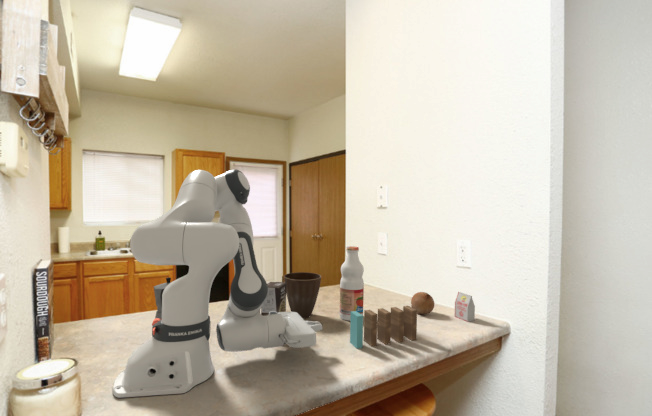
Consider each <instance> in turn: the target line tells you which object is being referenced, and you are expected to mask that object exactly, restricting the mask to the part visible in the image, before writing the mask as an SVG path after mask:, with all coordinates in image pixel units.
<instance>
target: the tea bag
mask: <svg viewBox="0 0 652 416" xmlns="http://www.w3.org/2000/svg"><path fill="white" fill-rule="evenodd" d="M475 308H476V305H475V303H474V299H473V295H470V294H468V293H463V292H461V291H458V292H457V295H456V298H455V301H454V317H455V318H456V319H460V320H462V321H465V322H467V323H469V322H475V319H476V318H475V317H476V316H475V315H476V313H475V311H476V309H475Z"/></svg>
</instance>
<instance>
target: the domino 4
mask: <svg viewBox="0 0 652 416" xmlns="http://www.w3.org/2000/svg"><path fill="white" fill-rule="evenodd" d="M402 310H403V311H404V337H405V338H406V339H408V340H409V341H411V342H413V341H417V340H418V339H417V337H418V336H417V334H418V332H417V330H418V329H417V328H418V327H417V326H418V323H417V322H418V321H417V319H418V313H417V310H416V309H414V308H412V307H411V306H409V305H404V306H402Z"/></svg>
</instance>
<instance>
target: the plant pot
mask: <svg viewBox="0 0 652 416" xmlns="http://www.w3.org/2000/svg"><path fill="white" fill-rule="evenodd" d="M283 279H284V282H286V300H287V302H288V307H289V310H290V312H297V313H298V314H299V315H300V316H301V317H302V318H303V319H307V318H310V317H311V316H312V313H313V312H314V309H315V306H316V303H317V299H318V296H319V292H320V288H321V281H322V275H321V274H319V273H316V272H315V273H314V272H306V271H305V272H304V271H301V272H300V271H299V272H297V271H296V272H289V273H286V274H284V276H283Z"/></svg>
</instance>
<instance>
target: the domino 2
mask: <svg viewBox="0 0 652 416" xmlns="http://www.w3.org/2000/svg"><path fill="white" fill-rule="evenodd" d="M391 339H392V338H391V311H389V310H387V309H385V308H377V341H379V342H380V343H382V344H383V345H391Z"/></svg>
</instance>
